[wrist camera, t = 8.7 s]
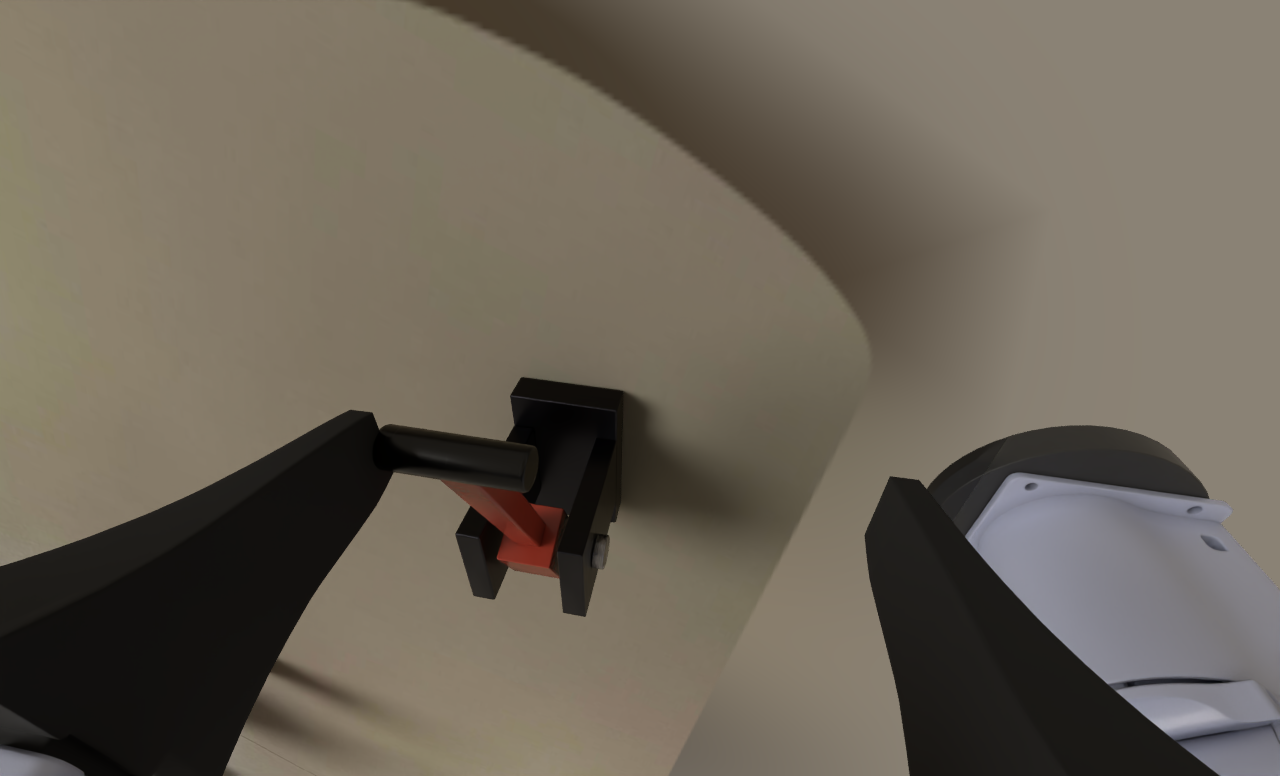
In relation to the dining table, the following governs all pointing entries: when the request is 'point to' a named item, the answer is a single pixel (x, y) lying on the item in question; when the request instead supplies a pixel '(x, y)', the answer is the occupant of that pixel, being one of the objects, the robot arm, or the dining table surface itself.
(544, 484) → the bracket
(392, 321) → the dining table surface
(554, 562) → the lever
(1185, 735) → the robot arm
